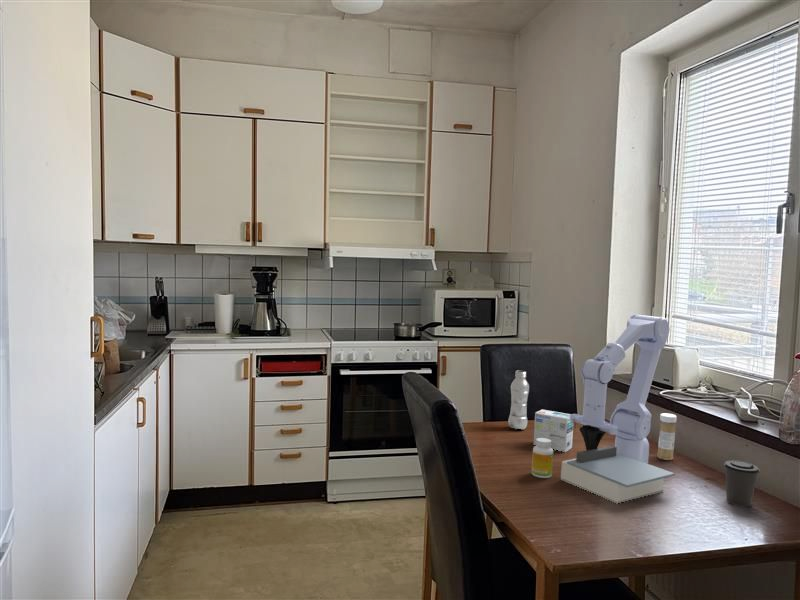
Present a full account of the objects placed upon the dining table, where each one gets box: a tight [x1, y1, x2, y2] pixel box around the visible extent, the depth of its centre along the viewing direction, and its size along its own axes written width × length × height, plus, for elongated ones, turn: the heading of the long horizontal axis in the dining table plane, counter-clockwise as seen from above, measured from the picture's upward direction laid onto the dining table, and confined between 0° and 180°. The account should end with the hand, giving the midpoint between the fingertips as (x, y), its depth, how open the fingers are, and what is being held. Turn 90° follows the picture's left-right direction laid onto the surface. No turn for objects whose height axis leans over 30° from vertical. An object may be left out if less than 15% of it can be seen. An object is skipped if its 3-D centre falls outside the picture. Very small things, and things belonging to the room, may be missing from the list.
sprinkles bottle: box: [657, 412, 678, 461], centre depth 186 cm, size 5×5×13 cm
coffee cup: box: [723, 459, 761, 507], centre depth 154 cm, size 8×8×10 cm
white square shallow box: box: [560, 458, 665, 505], centre depth 161 cm, size 18×18×5 cm
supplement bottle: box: [531, 438, 554, 479], centre depth 167 cm, size 5×5×10 cm
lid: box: [566, 445, 675, 488], centre depth 159 cm, size 19×19×3 cm
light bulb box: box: [532, 408, 574, 453], centre depth 193 cm, size 11×7×11 cm, turn 58°
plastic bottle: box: [508, 370, 530, 430], centre depth 211 cm, size 6×7×20 cm
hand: (591, 453), depth 167 cm, fingers closed
